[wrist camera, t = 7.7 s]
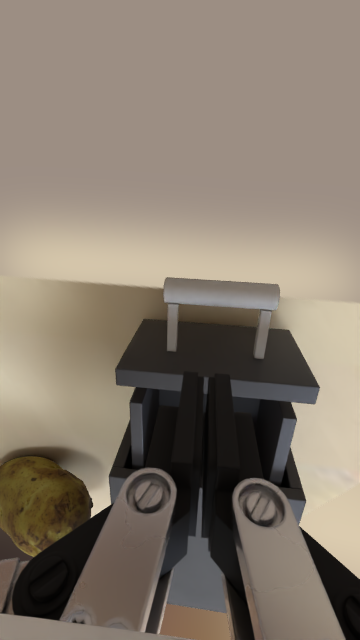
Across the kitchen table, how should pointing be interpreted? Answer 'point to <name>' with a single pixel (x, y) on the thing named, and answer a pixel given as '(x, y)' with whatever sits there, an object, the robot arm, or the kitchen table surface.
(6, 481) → the potato
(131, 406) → the handled dark box
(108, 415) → the kitchen table surface
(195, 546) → the dark gray cabinet
